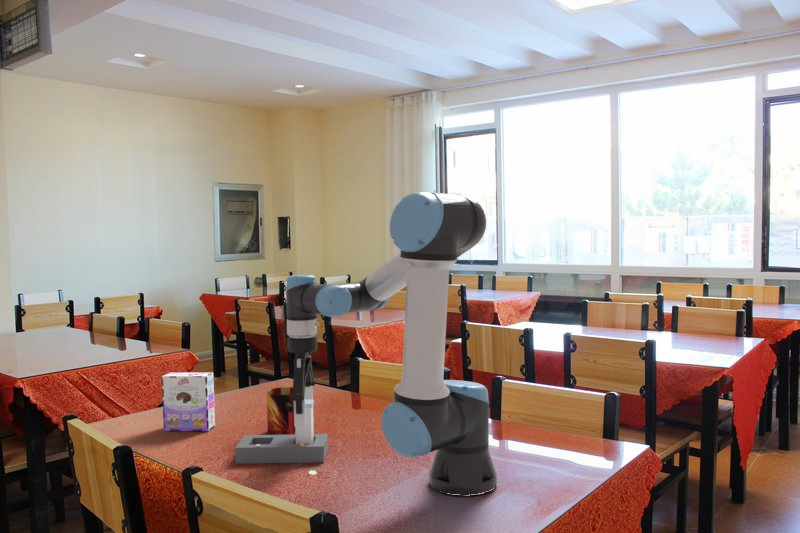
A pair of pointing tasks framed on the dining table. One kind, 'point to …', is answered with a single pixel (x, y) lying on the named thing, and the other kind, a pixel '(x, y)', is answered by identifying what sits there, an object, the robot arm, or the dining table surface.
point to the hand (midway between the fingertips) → (303, 418)
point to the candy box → (188, 401)
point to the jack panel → (280, 449)
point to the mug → (280, 411)
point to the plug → (306, 432)
